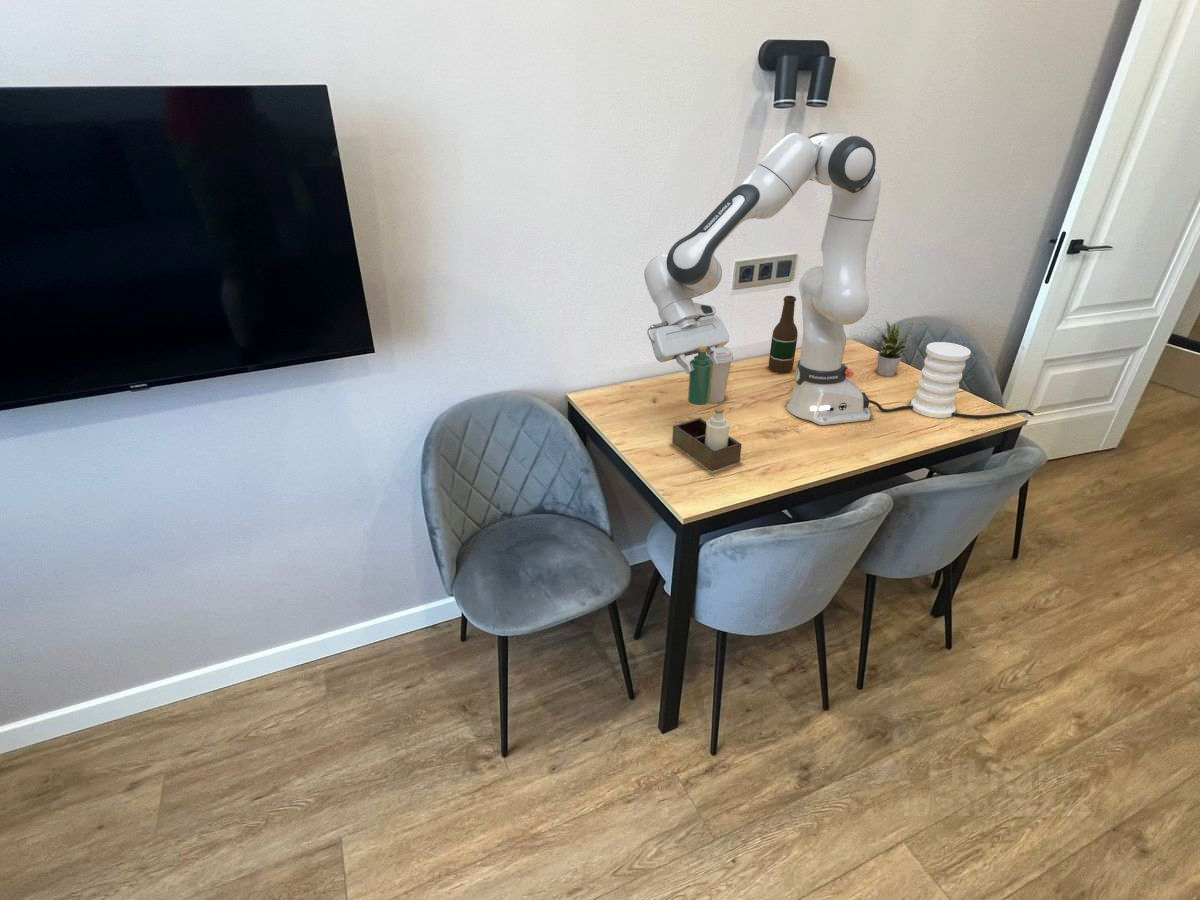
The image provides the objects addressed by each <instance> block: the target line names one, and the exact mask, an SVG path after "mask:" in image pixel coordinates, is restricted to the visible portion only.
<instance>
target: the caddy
mask: <svg viewBox="0 0 1200 900" xmlns="http://www.w3.org/2000/svg"><path fill="white" fill-rule="evenodd" d="M706 422H707V420H705V419H703V418H701V417H698V418H694V419H691V420H688V421H685V422H681V423H677V424H675V425H673V427H672V444H673V445H674V446H675V447H677V448H679V450H682V452H684V453H686V454H687V455H689V456H690V457H691V458H693V459H694V460H696V461H697V462H698V463H700V464H701V465H702V466H704V467H705V468H707V469H708V470H709V471H711V472H715V471H718V470H721V469H724V468H726V467H730V466H732V465H735V464H738V463H740V462H741V453H742V445H743V444H742V443H740V441H738V440H736V439H735V438H733V437H731V436H730V435H729V438H728V447H725V448H722V449H719V450H716V451H713V450H712V449H710V448H709V447H707V446H706V445H705V432H706Z"/></svg>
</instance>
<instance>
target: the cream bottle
mask: <svg viewBox="0 0 1200 900" xmlns="http://www.w3.org/2000/svg"><path fill="white" fill-rule="evenodd" d="M724 410H725V408H723V407H722V406H715V407H714V415H712V416H711V417H709V418H708V419H707V420H706V432H705V445H706V446H707V447H709V448H710V449H712V450H713V451H716V450H719V449H722V448H725V447H728V438H729V436H730V427H731V423H730V421H729V420H728V419H727V417H726V416H724Z"/></svg>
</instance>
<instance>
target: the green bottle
mask: <svg viewBox="0 0 1200 900" xmlns="http://www.w3.org/2000/svg"><path fill="white" fill-rule="evenodd" d="M706 351H707V347H705V346H699V347H698V353H697V354H696V355H694V357H693V359H691V360H689V364H693V367H694V369H695V371H693V372H692V373H689V374H688V387H687V388H688V389H687V401H688V403H689V404H692V405H695V406H706V405H708V404H710V403H711V402H710V401H711V389H712V375H713V362H712V361H711V360H710V357H708V356H706Z"/></svg>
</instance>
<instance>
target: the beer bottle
mask: <svg viewBox="0 0 1200 900" xmlns="http://www.w3.org/2000/svg"><path fill="white" fill-rule="evenodd" d="M782 301H783V305H782V310H781V315H780V320H779V322H778V323H777V324H776V325H775V326H774V329H773V330H772V335H771V341H770V351H769V358H768V369H769V370H770V371H771V372H772V373H775V374H780V375H781V374H789V373H791V371H793V369H794V363H795V358H796V350H797V343H798V334H799V332H798V328H797V326H796V324H795V318H794V317H795V305H796V301H797V298H796V297H795V296H793V295H786V296H784V297H783V300H782Z"/></svg>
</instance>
